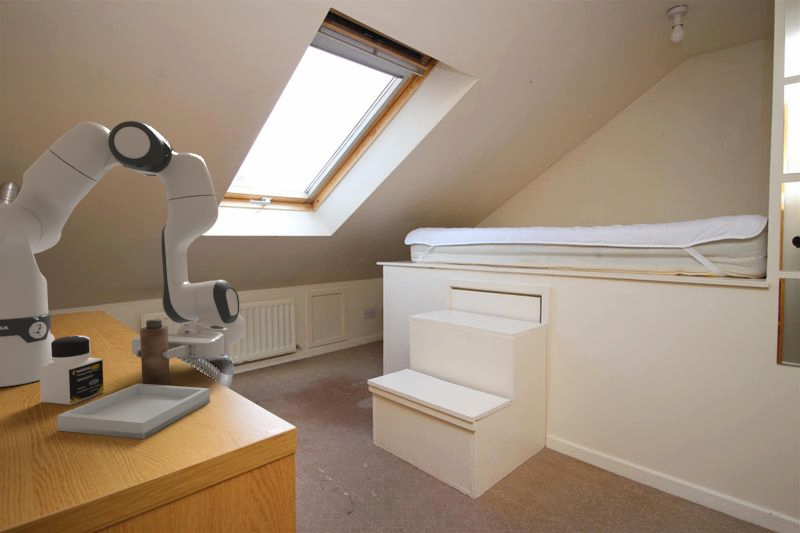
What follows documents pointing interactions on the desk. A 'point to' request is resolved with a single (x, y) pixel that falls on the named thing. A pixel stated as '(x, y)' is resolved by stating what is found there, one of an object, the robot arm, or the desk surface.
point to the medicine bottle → (71, 372)
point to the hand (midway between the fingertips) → (152, 354)
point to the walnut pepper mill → (154, 353)
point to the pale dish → (134, 410)
